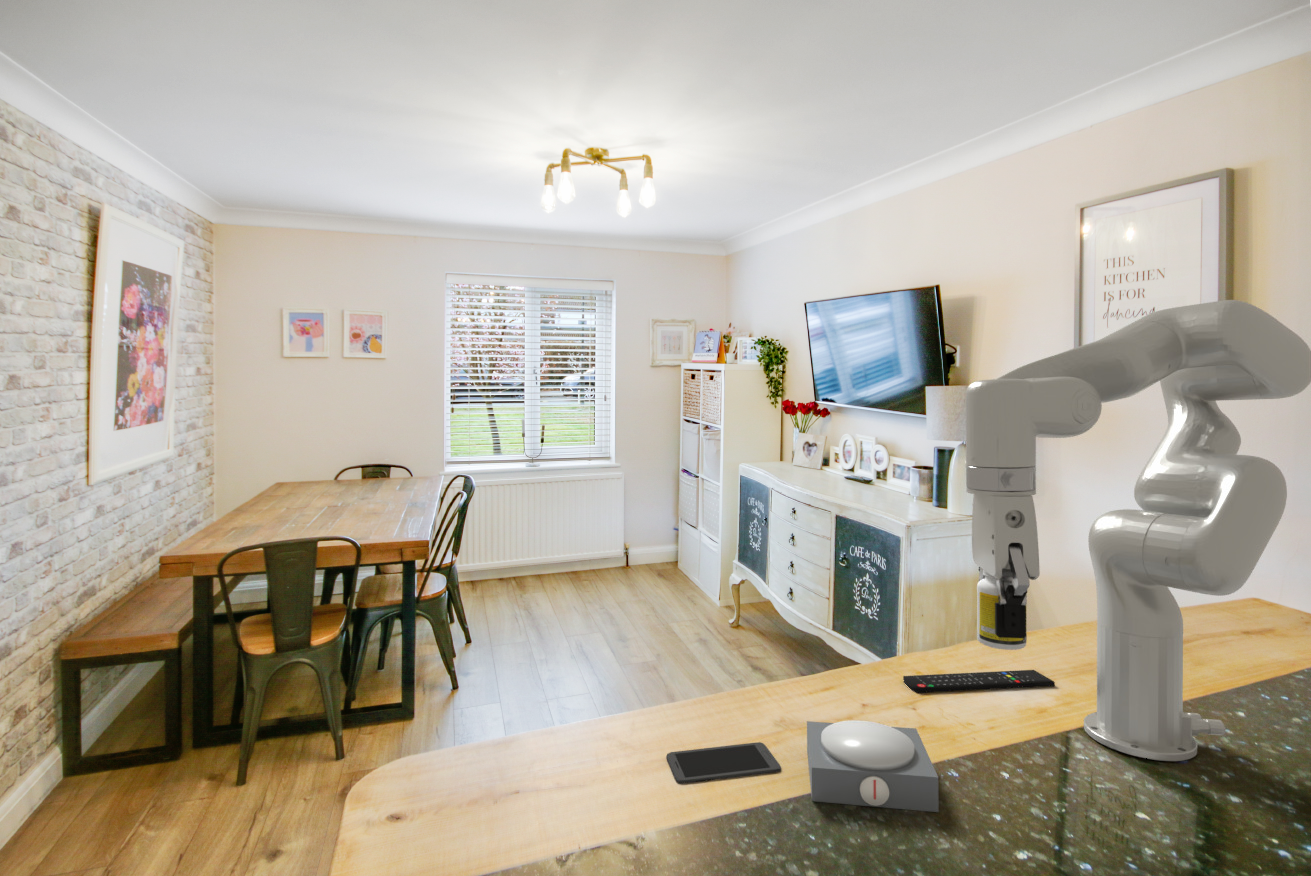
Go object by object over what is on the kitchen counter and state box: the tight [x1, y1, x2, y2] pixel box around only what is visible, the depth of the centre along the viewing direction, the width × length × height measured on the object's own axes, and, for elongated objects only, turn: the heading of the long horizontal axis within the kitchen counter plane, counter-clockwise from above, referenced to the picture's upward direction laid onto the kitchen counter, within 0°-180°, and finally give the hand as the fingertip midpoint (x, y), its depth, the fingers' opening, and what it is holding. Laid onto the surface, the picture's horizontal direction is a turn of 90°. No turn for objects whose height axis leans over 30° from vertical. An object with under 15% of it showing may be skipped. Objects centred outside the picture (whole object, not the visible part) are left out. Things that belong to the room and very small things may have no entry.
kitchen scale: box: [806, 719, 940, 813], centre depth 81 cm, size 14×13×5 cm
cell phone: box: [665, 741, 782, 785], centre depth 86 cm, size 7×14×1 cm, turn 101°
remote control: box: [902, 669, 1056, 694], centre depth 110 cm, size 5×24×1 cm, turn 95°
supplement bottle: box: [976, 570, 1028, 651], centre depth 80 cm, size 5×5×10 cm
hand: (1001, 626), depth 80 cm, fingers closed on supplement bottle, 5 cm apart
